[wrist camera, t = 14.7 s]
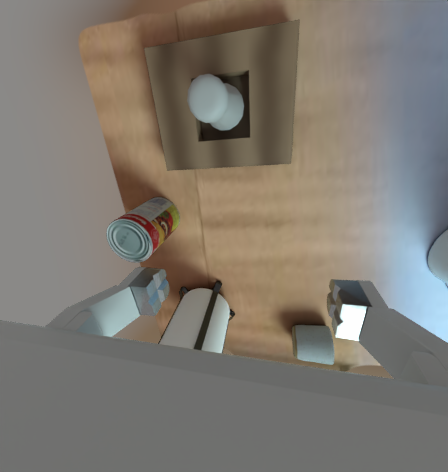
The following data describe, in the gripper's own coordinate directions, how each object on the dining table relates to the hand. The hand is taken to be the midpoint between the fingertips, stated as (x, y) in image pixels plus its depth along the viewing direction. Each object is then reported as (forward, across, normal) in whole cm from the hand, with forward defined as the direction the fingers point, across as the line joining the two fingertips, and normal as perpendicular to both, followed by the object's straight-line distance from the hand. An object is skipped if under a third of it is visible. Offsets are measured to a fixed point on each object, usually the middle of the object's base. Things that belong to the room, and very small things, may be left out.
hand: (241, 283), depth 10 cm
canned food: (+29, +21, +8) cm, 37 cm away
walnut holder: (+30, +6, -10) cm, 32 cm away
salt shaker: (+29, +6, -10) cm, 31 cm away
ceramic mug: (+30, -11, +39) cm, 50 cm away
